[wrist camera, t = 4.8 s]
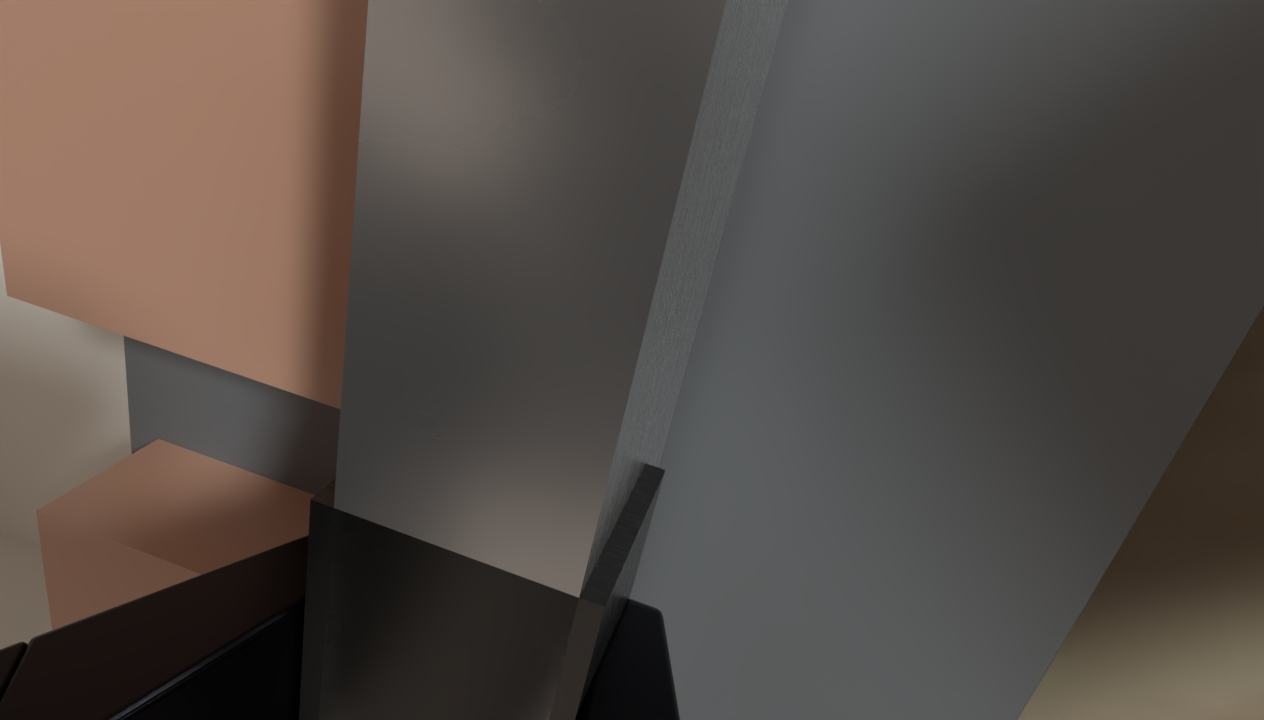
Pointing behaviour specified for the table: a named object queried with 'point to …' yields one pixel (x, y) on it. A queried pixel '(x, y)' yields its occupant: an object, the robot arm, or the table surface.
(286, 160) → the tile
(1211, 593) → the table surface
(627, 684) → the robot arm
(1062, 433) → the board
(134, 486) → the tile
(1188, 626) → the table surface
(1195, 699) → the table surface
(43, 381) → the tray
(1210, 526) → the table surface
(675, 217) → the sleeved grey plank
